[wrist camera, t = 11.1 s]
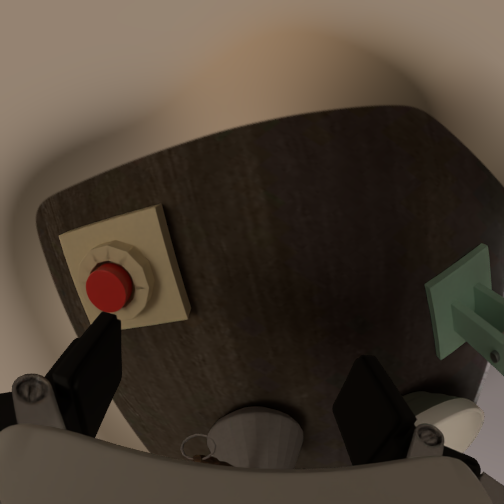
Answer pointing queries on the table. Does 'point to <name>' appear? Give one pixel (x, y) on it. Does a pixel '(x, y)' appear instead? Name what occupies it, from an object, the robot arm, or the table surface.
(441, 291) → the green lever stand
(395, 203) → the table surface
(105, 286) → the button
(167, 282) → the block
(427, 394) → the bowl
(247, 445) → the coffee pot
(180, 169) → the table surface
